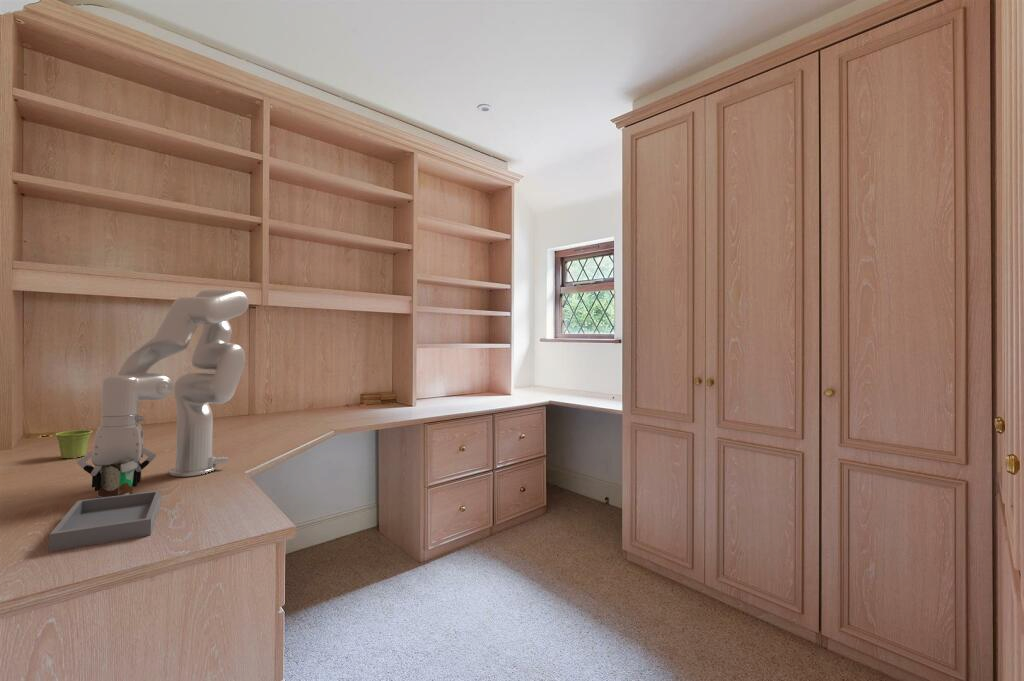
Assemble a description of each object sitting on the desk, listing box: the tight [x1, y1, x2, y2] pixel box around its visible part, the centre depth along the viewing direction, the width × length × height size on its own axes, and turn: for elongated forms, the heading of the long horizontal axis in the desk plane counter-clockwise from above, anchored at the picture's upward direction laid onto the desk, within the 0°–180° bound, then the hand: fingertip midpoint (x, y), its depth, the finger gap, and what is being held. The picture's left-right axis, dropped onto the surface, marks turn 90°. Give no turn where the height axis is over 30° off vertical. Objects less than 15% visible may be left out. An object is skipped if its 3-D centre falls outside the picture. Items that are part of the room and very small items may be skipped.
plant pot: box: [55, 429, 93, 459], centre depth 161 cm, size 9×9×9 cm
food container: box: [94, 460, 138, 498], centre depth 124 cm, size 12×6×10 cm, turn 67°
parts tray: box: [49, 489, 162, 552], centre depth 105 cm, size 16×22×4 cm
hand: (116, 487), depth 123 cm, fingers closed on food container, 7 cm apart
